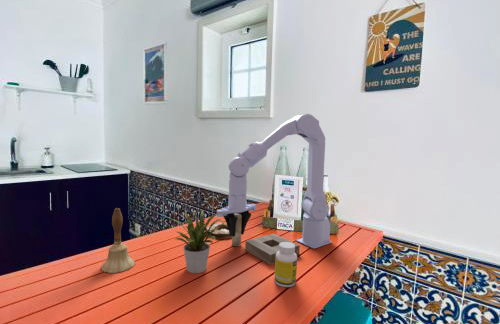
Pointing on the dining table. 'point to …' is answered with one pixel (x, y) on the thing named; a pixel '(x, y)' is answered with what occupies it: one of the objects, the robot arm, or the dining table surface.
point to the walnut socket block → (267, 247)
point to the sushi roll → (220, 231)
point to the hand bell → (117, 249)
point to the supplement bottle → (286, 265)
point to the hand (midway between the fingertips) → (236, 234)
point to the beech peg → (237, 231)
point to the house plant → (197, 243)
